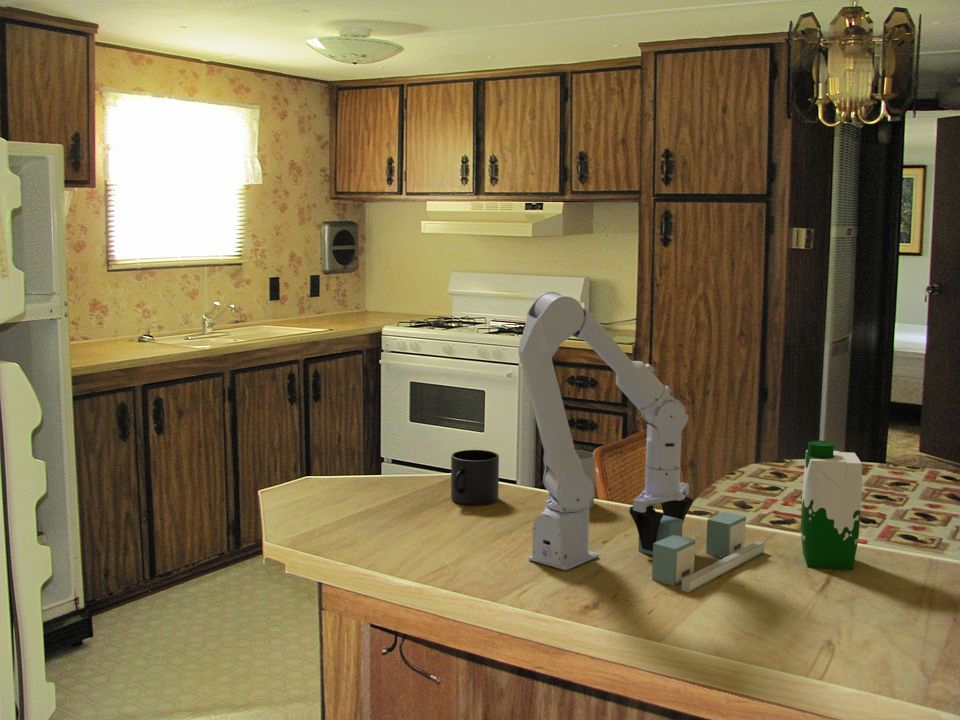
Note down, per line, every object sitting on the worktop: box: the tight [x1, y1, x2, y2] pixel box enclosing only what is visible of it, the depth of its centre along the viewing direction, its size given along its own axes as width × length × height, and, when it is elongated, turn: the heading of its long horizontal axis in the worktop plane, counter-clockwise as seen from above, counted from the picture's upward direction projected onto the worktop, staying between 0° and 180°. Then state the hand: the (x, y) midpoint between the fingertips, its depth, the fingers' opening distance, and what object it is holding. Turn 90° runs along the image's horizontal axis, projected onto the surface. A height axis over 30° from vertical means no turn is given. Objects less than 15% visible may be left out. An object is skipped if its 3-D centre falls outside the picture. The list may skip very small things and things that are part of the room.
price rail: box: [681, 540, 766, 593], centre depth 166 cm, size 25×1×2 cm, turn 138°
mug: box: [450, 449, 500, 507], centre depth 204 cm, size 9×12×9 cm
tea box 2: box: [651, 535, 696, 587], centre depth 163 cm, size 6×4×6 cm
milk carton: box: [800, 440, 863, 571], centre depth 169 cm, size 9×9×20 cm
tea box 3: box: [705, 511, 747, 558], centre depth 175 cm, size 6×4×6 cm
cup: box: [575, 449, 596, 509], centre depth 202 cm, size 8×8×10 cm
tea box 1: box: [637, 515, 684, 556], centre depth 175 cm, size 6×4×6 cm
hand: (660, 544), depth 175 cm, fingers open, 7 cm apart
